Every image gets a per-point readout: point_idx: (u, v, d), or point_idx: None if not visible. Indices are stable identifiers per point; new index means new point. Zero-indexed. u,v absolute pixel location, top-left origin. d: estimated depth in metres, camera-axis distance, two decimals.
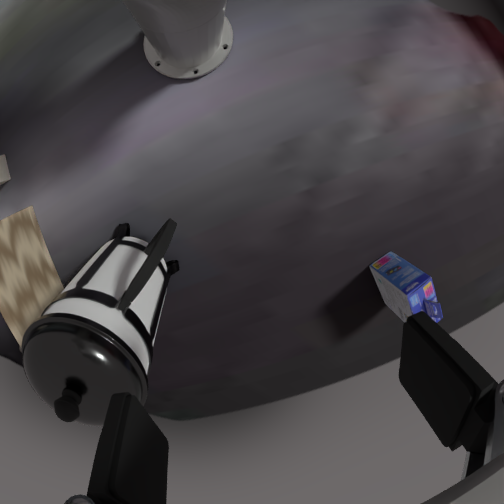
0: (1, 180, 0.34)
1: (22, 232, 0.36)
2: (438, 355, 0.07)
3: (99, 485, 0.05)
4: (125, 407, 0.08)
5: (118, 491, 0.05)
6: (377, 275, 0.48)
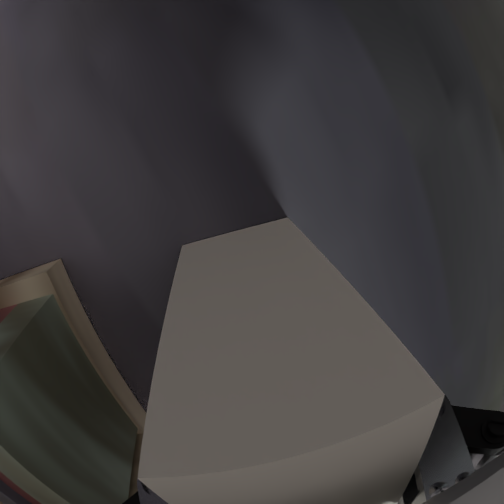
0: None
1: None
2: None
3: None
4: None
5: None
6: None
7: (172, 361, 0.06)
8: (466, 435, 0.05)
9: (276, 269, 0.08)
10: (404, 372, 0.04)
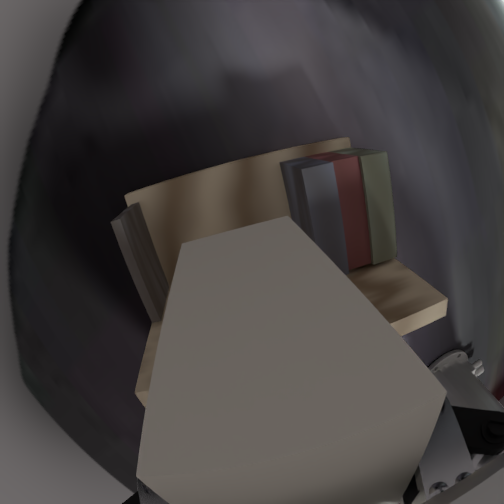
0: None
1: None
2: None
3: None
4: None
5: None
6: None
7: (172, 358, 0.06)
8: (466, 435, 0.05)
9: (276, 266, 0.08)
10: (406, 369, 0.04)
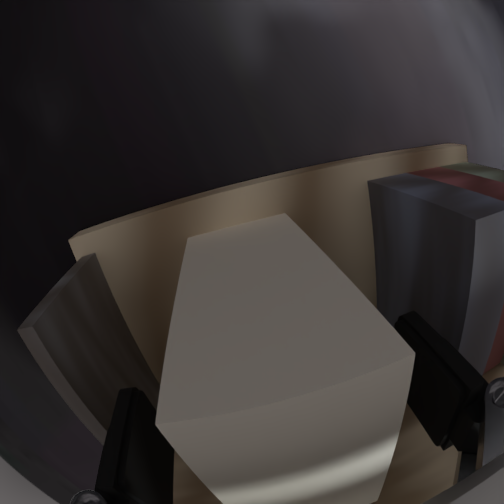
0: None
1: None
2: (428, 354, 0.07)
3: (108, 479, 0.05)
4: (133, 402, 0.08)
5: (127, 485, 0.05)
6: None
7: (184, 331, 0.07)
8: None
9: (273, 256, 0.10)
10: (381, 335, 0.05)
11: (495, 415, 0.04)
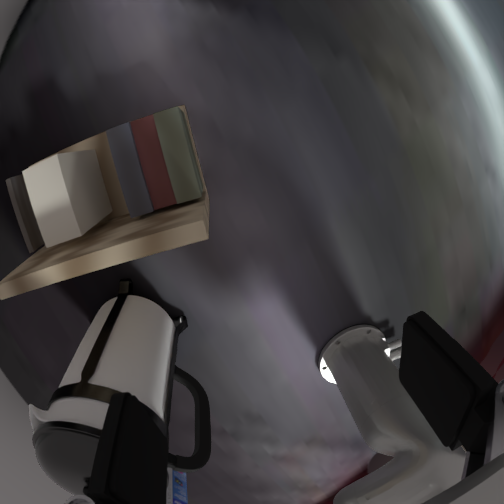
0: None
1: None
2: (438, 355, 0.07)
3: (99, 485, 0.05)
4: (125, 407, 0.08)
5: (118, 491, 0.05)
6: (169, 470, 0.53)
7: None
8: None
9: None
10: None
11: None
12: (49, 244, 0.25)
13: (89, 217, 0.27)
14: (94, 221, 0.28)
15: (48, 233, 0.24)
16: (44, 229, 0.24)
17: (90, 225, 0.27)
